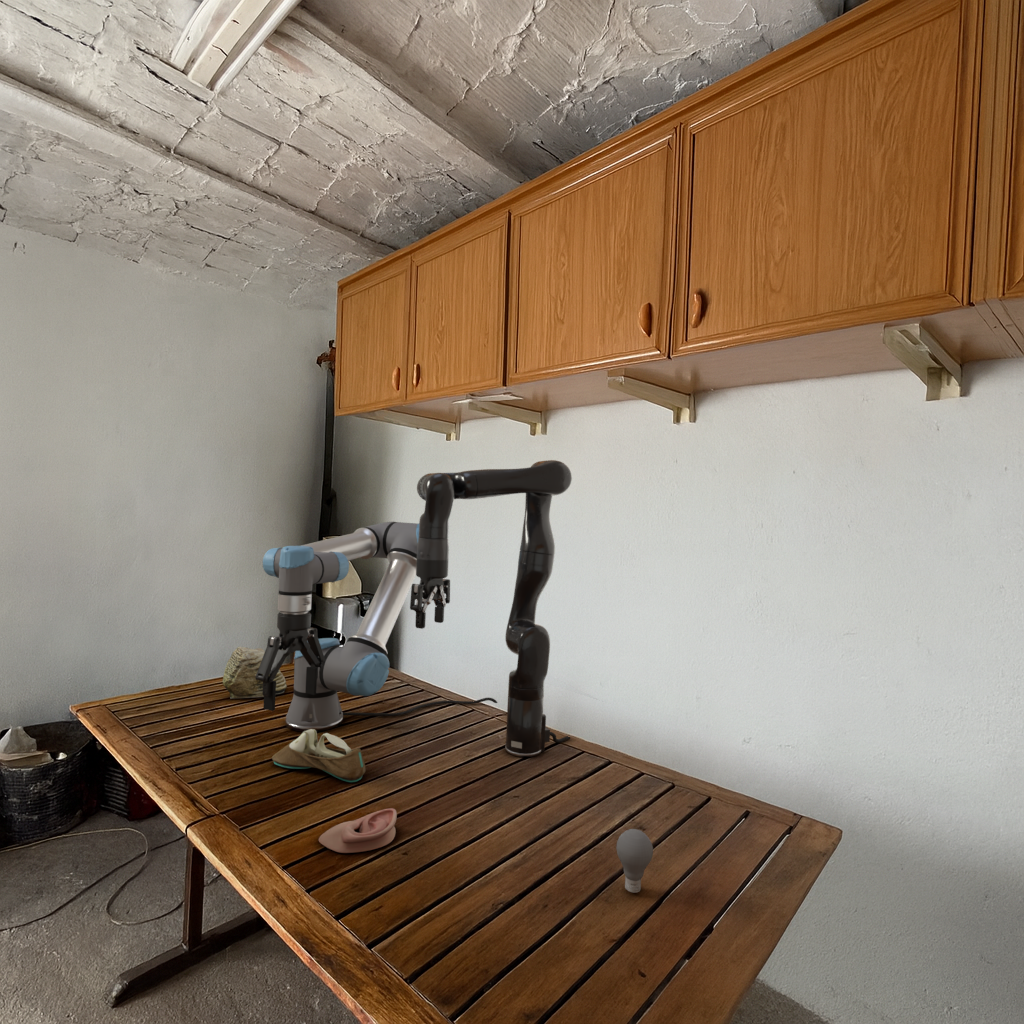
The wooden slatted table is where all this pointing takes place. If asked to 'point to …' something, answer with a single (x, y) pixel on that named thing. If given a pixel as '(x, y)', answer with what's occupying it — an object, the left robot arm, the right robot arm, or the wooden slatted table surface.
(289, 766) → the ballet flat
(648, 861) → the light bulb
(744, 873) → the wooden slatted table surface
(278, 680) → the fossil
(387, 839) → the anatomical model
